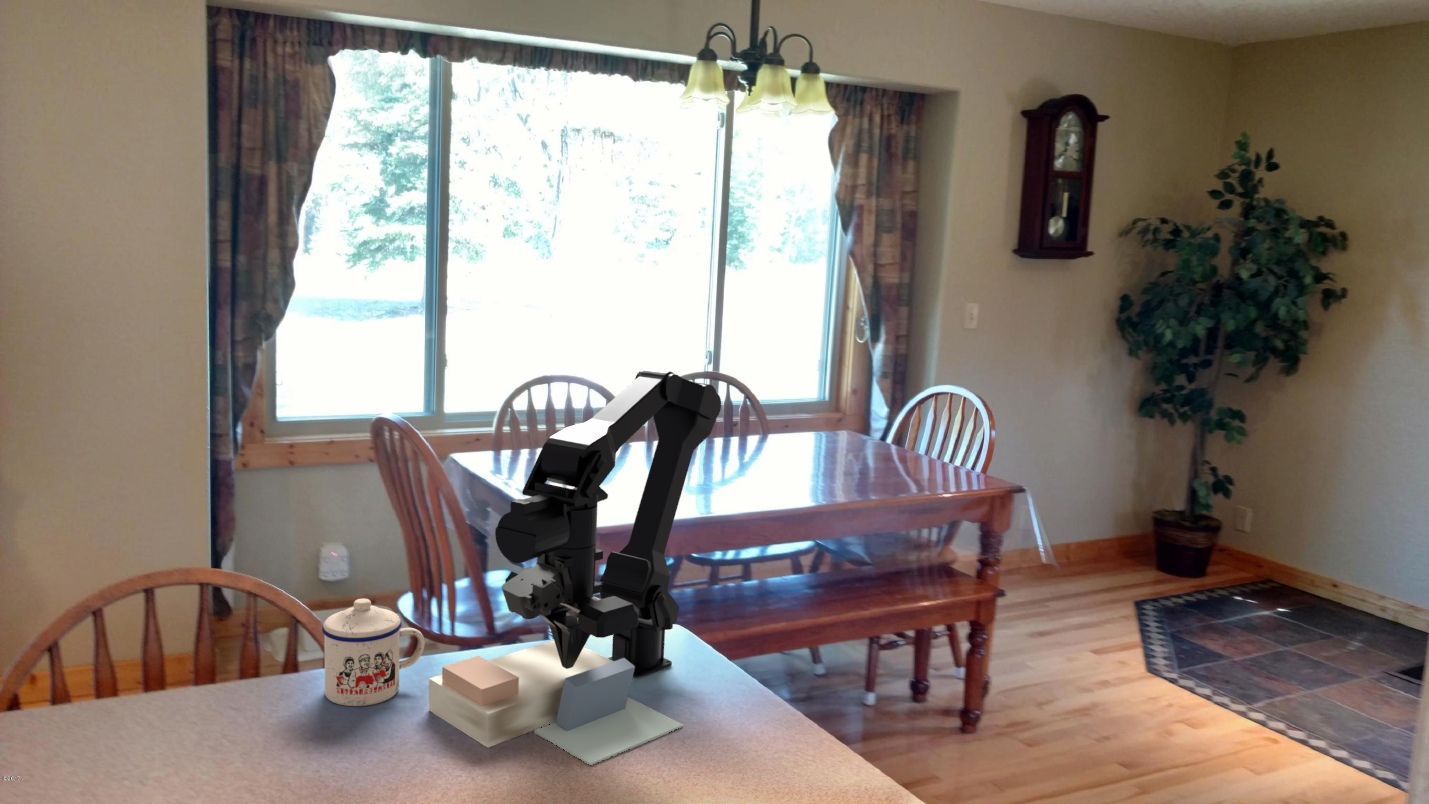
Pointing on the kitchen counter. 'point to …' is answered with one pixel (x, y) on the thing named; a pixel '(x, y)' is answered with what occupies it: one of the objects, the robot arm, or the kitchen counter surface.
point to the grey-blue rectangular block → (595, 694)
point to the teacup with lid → (364, 654)
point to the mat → (610, 732)
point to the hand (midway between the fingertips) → (567, 667)
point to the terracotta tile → (480, 680)
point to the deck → (519, 711)
